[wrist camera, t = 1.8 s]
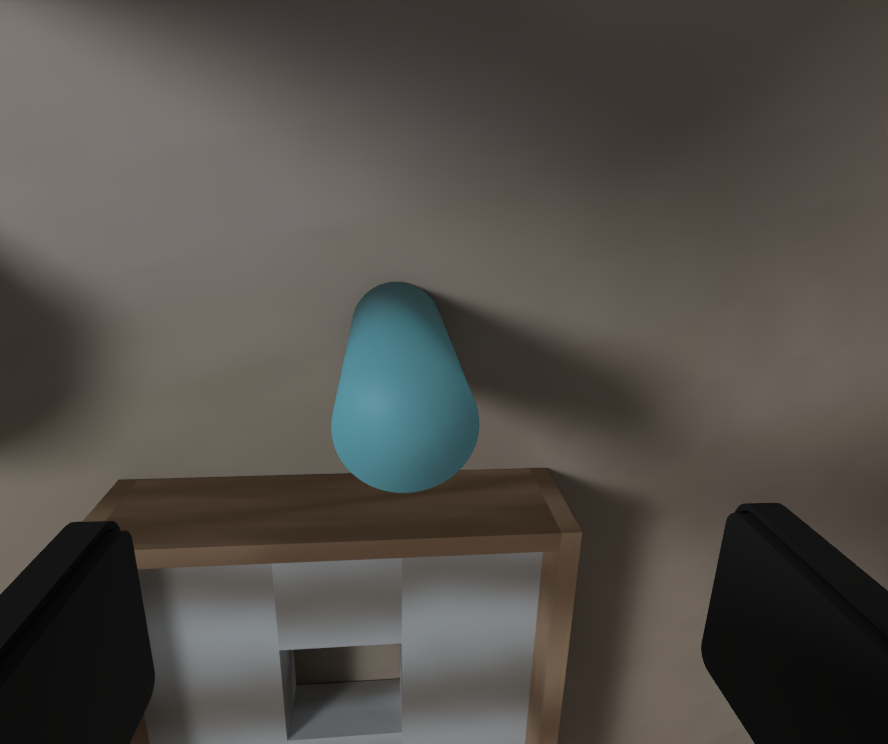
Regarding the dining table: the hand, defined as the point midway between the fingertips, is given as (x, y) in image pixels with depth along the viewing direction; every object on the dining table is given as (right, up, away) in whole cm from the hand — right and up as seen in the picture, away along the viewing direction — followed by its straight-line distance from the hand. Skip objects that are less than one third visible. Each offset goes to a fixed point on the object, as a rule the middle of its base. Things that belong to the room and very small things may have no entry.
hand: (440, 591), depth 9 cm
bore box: (-5, -10, +19) cm, 22 cm away
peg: (-2, +5, +14) cm, 15 cm away
